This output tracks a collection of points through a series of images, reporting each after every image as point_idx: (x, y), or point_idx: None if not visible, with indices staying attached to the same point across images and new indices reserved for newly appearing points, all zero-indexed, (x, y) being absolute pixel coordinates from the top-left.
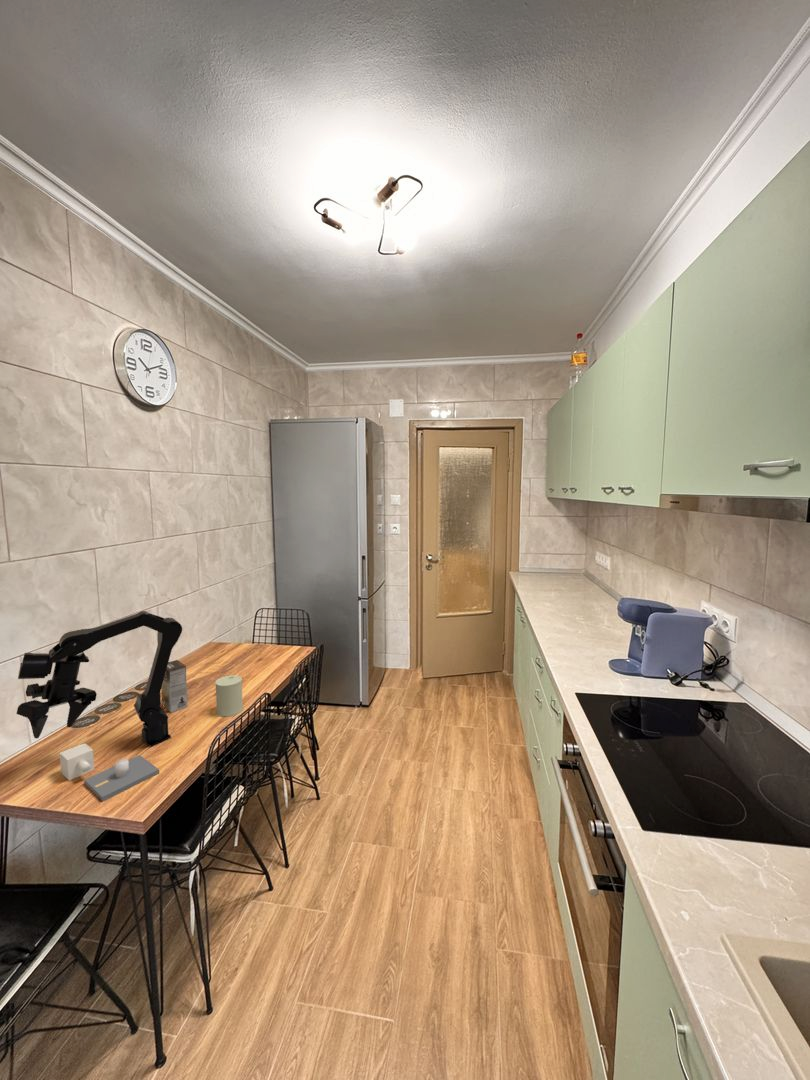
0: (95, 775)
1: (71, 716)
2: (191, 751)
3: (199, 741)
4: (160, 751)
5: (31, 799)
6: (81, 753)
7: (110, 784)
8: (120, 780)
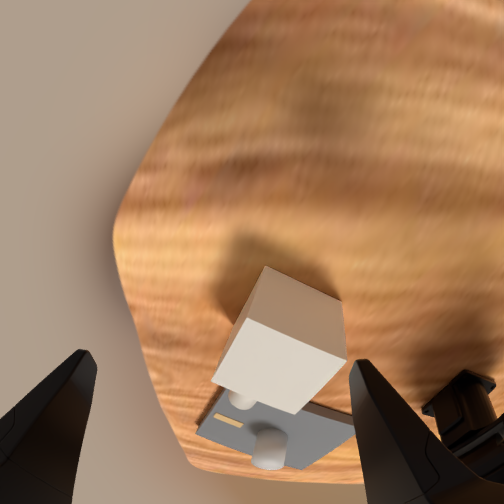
0: None
1: (377, 449)
2: None
3: None
4: None
5: (138, 287)
6: (263, 397)
7: (232, 432)
8: (251, 440)
